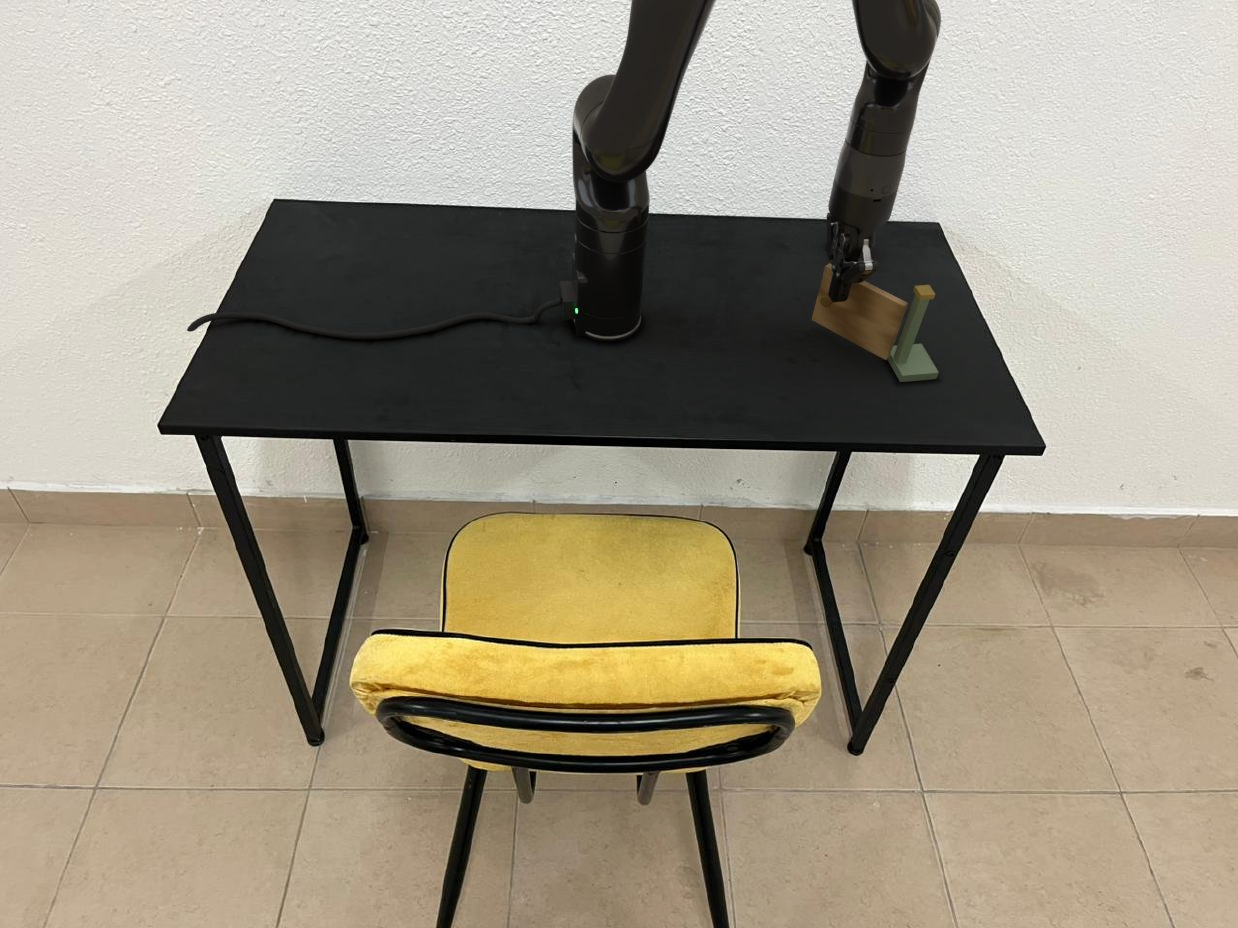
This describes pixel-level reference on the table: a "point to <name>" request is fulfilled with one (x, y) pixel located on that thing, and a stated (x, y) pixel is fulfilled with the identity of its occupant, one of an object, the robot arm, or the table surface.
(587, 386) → the table surface
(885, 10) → the robot arm
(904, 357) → the door frame
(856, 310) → the door
